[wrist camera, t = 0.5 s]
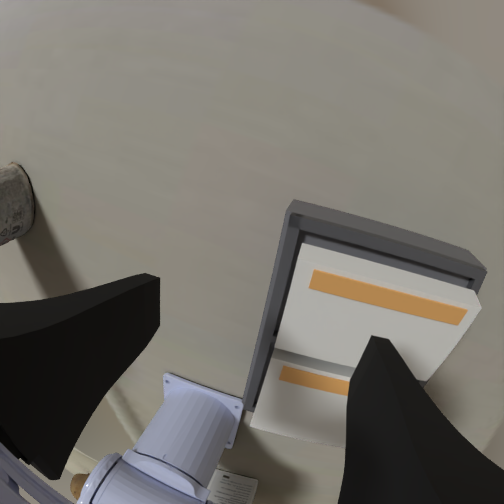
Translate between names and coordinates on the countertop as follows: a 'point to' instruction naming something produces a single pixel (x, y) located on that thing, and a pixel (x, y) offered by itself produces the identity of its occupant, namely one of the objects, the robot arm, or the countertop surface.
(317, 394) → the panel
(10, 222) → the spray can
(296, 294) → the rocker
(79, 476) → the brown potato
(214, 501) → the container
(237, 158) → the countertop surface
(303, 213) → the grey divided tray
